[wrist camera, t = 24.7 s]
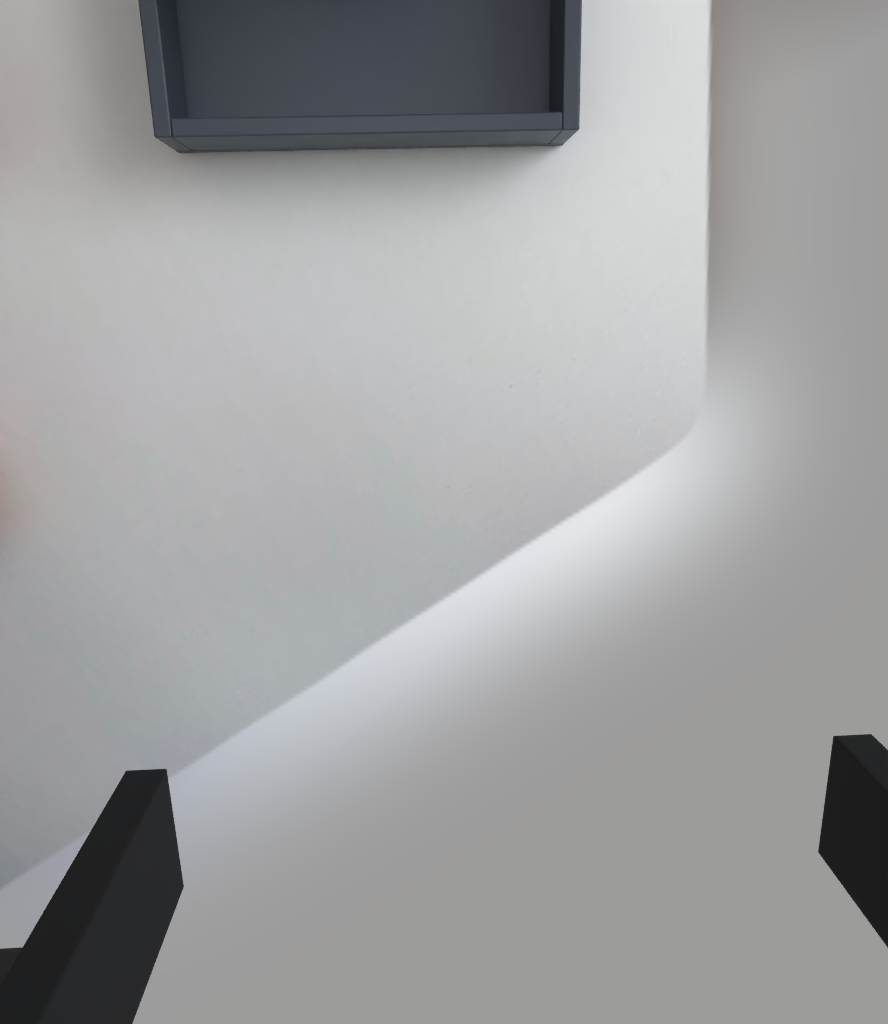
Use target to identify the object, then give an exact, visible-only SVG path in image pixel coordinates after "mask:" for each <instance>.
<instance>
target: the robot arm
mask: <svg viewBox="0 0 888 1024" xmlns="http://www.w3.org/2000/svg"><path fill="white" fill-rule="evenodd" d="M818 852H819V853H820V855H821V856H822V858H823V859H824V860H825V862H826V863H827V865H828V866H829V867H830V869H831V870H832V871H833V873H834V874H835V876H836V877H837V878H838V880H839V881H840V882H841V884H842V885H843V887H844V888H845V889H846V891H847V892H848V893H849V895H850V896H851V898H852V899H853V900H854V902H855V903H856V904H857V906H858V907H859V908H860V910H861V911H862V913H863V914H864V915H865V917H866V918H867V919H868V921H869V922H870V923H871V925H872V926H873V928H874V929H875V930H876V932H877V933H878V935H879V936H880V937H881V939H882V940H883V941H884V943H885V944H886V946H887V947H888V750H887V749H886V748H885V747H884V746H883V745H882V744H881V743H880V742H879V741H877V739H876V738H874V737H873V736H872V735H871V734H869V735H868V734H867V735H847V736H834V737H833V744H832V751H831V759H830V767H829V774H828V782H827V790H826V798H825V805H824V813H823V820H822V828H821V835H820V844H819V851H818ZM183 887H184V886H183V879H182V872H181V865H180V859H179V852H178V845H177V838H176V831H175V824H174V818H173V811H172V804H171V797H170V790H169V783H168V776H167V770H166V769H154V770H134V771H126V772H125V774H124V775H123V777H122V779H121V781H120V782H119V784H118V786H117V787H116V789H115V791H114V793H113V794H112V796H111V798H110V799H109V801H108V803H107V804H106V806H105V808H104V810H103V811H102V813H101V815H100V816H99V818H98V820H97V822H96V823H95V825H94V827H93V828H92V830H91V832H90V834H89V835H88V837H87V839H86V840H85V842H84V844H83V846H82V847H81V849H80V851H79V852H78V854H77V856H76V857H75V860H74V861H73V863H72V864H71V866H70V868H69V870H68V871H67V873H66V875H65V876H64V878H63V880H62V881H61V884H60V885H59V887H58V889H57V890H56V892H55V893H54V895H53V897H52V899H51V900H50V902H49V904H48V905H47V907H46V909H45V910H44V912H43V914H42V916H41V917H40V919H39V921H38V922H37V924H36V926H35V928H34V929H33V931H32V933H31V934H30V936H29V938H28V940H27V941H26V943H25V945H24V947H23V948H8V949H7V948H6V949H0V1024H132V1023H133V1020H134V1017H135V1015H136V1012H137V1010H138V1007H139V1004H140V1001H141V998H142V996H143V994H144V991H145V988H146V986H147V983H148V980H149V977H150V975H151V972H152V969H153V967H154V964H155V962H156V959H157V956H158V954H159V951H160V948H161V946H162V943H163V940H164V938H165V935H166V932H167V930H168V927H169V924H170V922H171V919H172V916H173V914H174V911H175V908H176V906H177V903H178V900H179V898H180V895H181V892H182V890H183Z"/></svg>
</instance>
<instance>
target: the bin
mask: <svg viewBox="0 0 888 1024" xmlns="http://www.w3.org/2000/svg"><path fill="white" fill-rule="evenodd" d="M139 8H140V17H141V25H142V34H143V42H144V51H145V59H146V68H147V76H148V84H149V93H150V101H151V110H152V118H153V127H154V135H155V137H156V138H157V139H159V140H160V141H162V142H164V143H165V144H167V145H168V146H170V147H171V148H173V149H175V150H176V151H177V152H179V153H187V152H240V151H293V150H346V149H399V148H452V147H504V146H557V145H563V144H564V143H565V142H566V141H567V140H568V139H569V138H570V137H571V136H572V135H573V134H574V133H576V132H577V131H578V130H579V111H580V62H581V12H582V0H139Z"/></svg>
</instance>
